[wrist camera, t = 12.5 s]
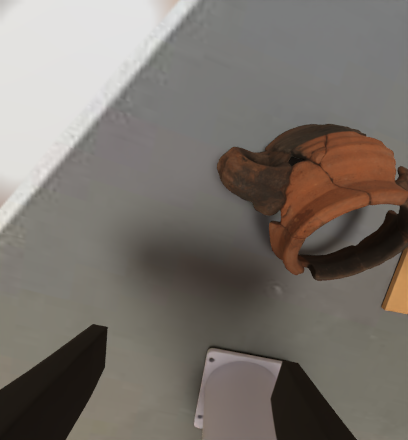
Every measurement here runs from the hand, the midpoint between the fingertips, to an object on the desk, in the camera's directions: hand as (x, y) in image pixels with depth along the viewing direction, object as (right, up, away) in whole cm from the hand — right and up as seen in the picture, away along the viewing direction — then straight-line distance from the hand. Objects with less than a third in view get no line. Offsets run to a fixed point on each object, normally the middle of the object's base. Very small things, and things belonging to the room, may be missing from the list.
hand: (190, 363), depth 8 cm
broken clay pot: (+7, +8, +8) cm, 14 cm away
